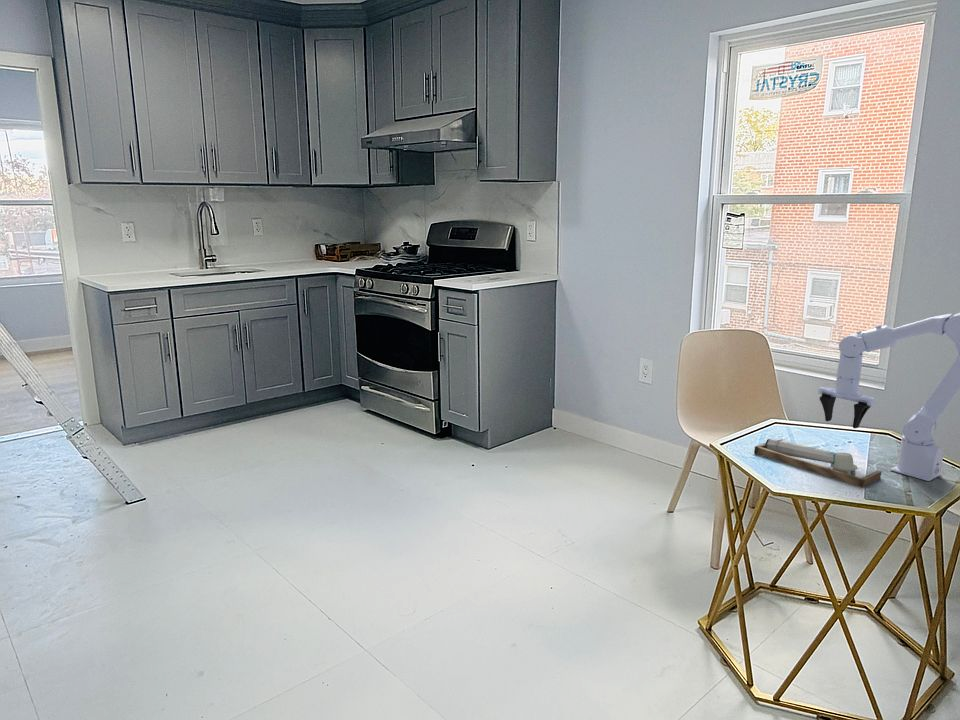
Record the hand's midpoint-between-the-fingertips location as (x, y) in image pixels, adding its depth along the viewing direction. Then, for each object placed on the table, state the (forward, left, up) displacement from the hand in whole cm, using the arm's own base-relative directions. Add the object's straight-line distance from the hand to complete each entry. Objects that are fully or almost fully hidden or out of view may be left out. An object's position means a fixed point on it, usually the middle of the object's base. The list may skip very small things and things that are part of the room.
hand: (841, 424), depth 194 cm
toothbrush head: (+2, +13, -10) cm, 16 cm away
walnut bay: (0, +13, -9) cm, 16 cm away
